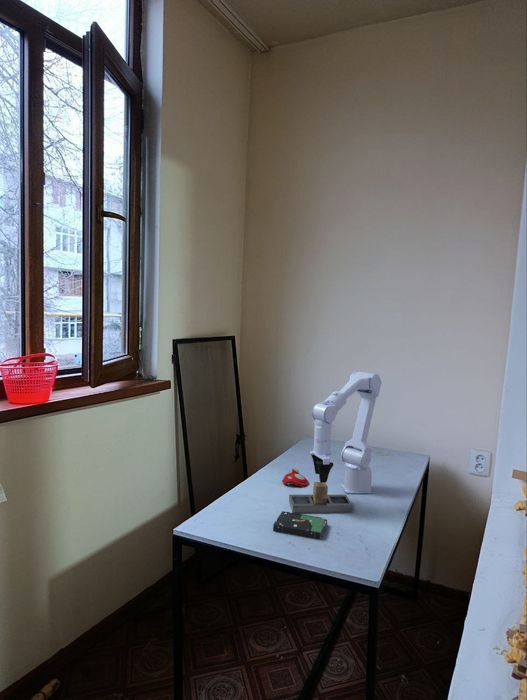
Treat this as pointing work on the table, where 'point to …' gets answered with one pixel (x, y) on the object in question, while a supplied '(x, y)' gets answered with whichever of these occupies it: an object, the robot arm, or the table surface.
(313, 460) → the robot arm
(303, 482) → the tracker holder
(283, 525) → the disk drive
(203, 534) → the table surface
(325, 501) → the walnut peg
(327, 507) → the rail
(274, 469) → the table surface
